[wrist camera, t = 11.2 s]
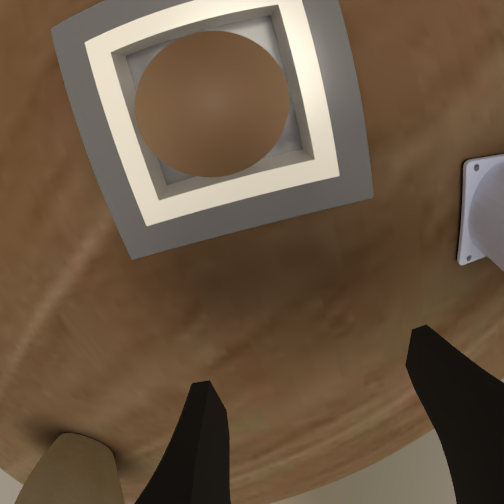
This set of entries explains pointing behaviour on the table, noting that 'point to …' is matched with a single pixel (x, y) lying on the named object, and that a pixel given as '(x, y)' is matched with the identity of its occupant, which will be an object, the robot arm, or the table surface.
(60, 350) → the table surface
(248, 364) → the table surface
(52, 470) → the plant pot
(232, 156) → the walnut peg
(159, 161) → the holder
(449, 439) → the robot arm
